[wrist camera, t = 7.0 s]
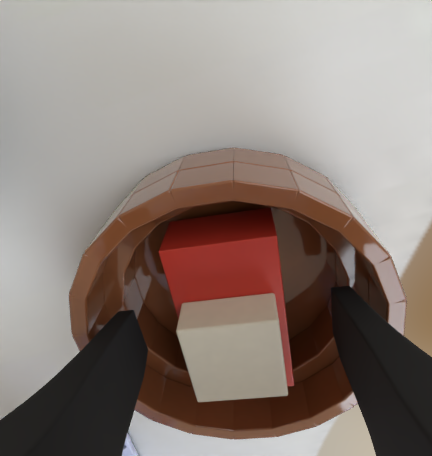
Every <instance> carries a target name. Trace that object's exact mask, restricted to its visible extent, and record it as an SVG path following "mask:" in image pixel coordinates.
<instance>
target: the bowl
mask: <svg viewBox="0 0 432 456" xmlns="http://www.w3.org/2000/svg"><path fill="white" fill-rule="evenodd" d="M263 208H271V210H272V215H273V219H274V224H275V229H276V233H277V239H278V248H279V256H280V265H281V274H282V282H283V291H284V300H285V308H286V317H287V326H288V334H289V343H290V351H291V360H292V369H293V377H294V386H287V387H288V395H287V396H277V397H264V398H250V399H237V400H223V401H210V402H198V401H197V398H196V395H195V392H194V389H193V385H192V382H191V379H190V375H189V372H188V369H187V366H186V362H185V359H184V356H183V352H182V349H181V346H180V343H179V339H178V336H177V333H176V329H177V325H178V316H177V313H176V310H175V306H174V303H173V300H172V296H171V293H170V289H169V286H168V283H167V279H166V276H165V272H164V269H163V266H162V262H161V259H160V256H159V249H160V246H161V244H162V241H163V238H164V236H165V233H166V230H167V228H168V225H169V222H171V221H178V220H185V219H192V218H199V217H206V216H213V215H220V214H227V213H234V212H241V211H248V210H255V209H263ZM341 286H350V287H351V288H353V290H354V291H355V292H356V293H357V294H358V295H359V296H360V297H361V298H362V299H363V300H364V301H365V302H366V303H367V304H368V305H369V306H370V307H371V308H373V309H374V310H375V311H376V312H377V313H378V314H379V315H380V316H381V317H382V318H383V319H385V320H386V321H387V322H388V323H389V324H390V325H391V326H392V327H394V328H395V329H396V330H397V331H398V332H400V333H401V334H402V335H403V336H404V329H405V317H406V304H407V300H406V295H405V292H404V289H403V287H402V284H401V281H400V279H399V276H398V273H397V270H396V268H395V265H394V262H393V260H392V257H391V256H390V254H389V252H388V251H387V250H386V248H385V247H384V246H383V244H382V243H381V242H380V240H379V239H378V238H377V236H376V235H375V234H374V232H373V231H372V229H371V228H370V227H369V225H368V224H367V223H366V221H365V220H364V219H363V217H362V216H361V215H360V213H359V212H358V211H357V209H356V208H355V207H354V206H353V204H352V203H351V202H350V201H349V200H348V199H347V198H346V197H345V196H344V195H343V194H342V193H341V192H340V191H339V190H338V189H337V187H336V186H335V185H334V184H333V183H332V182H331V181H330V180H329V179H328V178H327V177H325V176H324V175H322V174H320V173H318V172H316V171H314V170H312V169H310V168H308V167H306V166H304V165H302V164H300V163H298V162H296V161H294V160H292V159H291V158H289V157H287V156H283V155H281V154H275V153H268V152H261V151H254V150H248V149H241V148H228V149H222V150H216V151H210V152H204V153H198V154H192V155H187V156H184V157H182V158H180V159H178V160H176V161H174V162H172V163H170V164H168V165H167V166H165V167H163V168H161V169H159V170H157V171H155V172H153V173H151V174H150V175H148V176H146V177H145V178H144V179H142V181H141V182H140V183H139V184H138V185H137V186H136V187H135V188H134V189H133V190H132V192H131V193H130V194H129V195H128V196H127V197H126V198H125V199H124V200H123V202H122V203H121V204H120V205H119V206H118V207H117V208H116V210H115V211H114V212H113V214H112V215H111V216H110V218H109V219H108V221H107V222H106V223H105V225H104V226H103V227H102V229H101V230H100V231H99V233H98V234H97V235H96V237H95V238H94V239H93V241H92V242H91V243H90V245H89V246H88V247H87V249H86V250H85V252H84V253H83V255H82V258H81V261H80V263H79V266H78V269H77V272H76V275H75V278H74V280H73V283H72V286H71V289H70V292H69V304H70V318H71V331H72V334H73V338H74V340H75V342H76V344H77V346H78V349H79V351H81V350H82V349H83V348H84V347H85V346H86V345H87V344H88V343H89V342H90V341H91V340H92V339H93V338H94V337H95V335H96V334H97V333H98V332H99V331H100V330H101V329H102V328H103V327H104V326H105V325H106V324H107V323H108V321H109V320H110V319H111V318H112V317H113V316H114V315H115V314H116V313H117V312H118V311H127V310H134V312H135V315H136V318H137V320H138V323H139V326H140V329H141V331H142V334H143V337H144V340H145V342H146V345H147V348H148V354H147V361H146V368H145V373H144V378H143V382H142V385H141V389H140V392H139V395H138V399H137V402H136V406H135V409H134V410H136V411H137V412H139V413H140V414H142V415H144V416H145V417H147V418H149V419H151V420H153V421H155V422H158V423H161V424H164V425H167V426H170V427H172V428H175V429H178V430H181V431H184V432H187V433H192V434H195V435H203V436H210V437H218V438H225V439H251V438H268V437H275V436H276V437H279V436H283V435H286V434H290V433H294V432H298V431H301V430H305V429H309V428H313V427H316V426H319V425H320V424H322V423H324V422H326V421H328V420H330V419H332V418H334V417H336V416H338V415H339V414H341V413H343V412H345V411H347V410H349V409H351V408H352V407H354V406H355V405H356V404H357V403H358V402H357V400H356V397H355V395H354V392H353V390H352V388H351V385H350V383H349V380H348V378H347V375H346V373H345V370H344V368H343V365H342V363H341V360H340V357H339V353H338V350H337V346H336V343H335V339H334V335H333V328H332V304H331V288H332V287H341Z"/></svg>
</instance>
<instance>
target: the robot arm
mask: <svg viewBox="0 0 432 456" xmlns="http://www.w3.org/2000/svg"><path fill="white" fill-rule="evenodd" d="M331 304H332V328H333V335H334V339H335V343H336V346H337V350H338V353H339V357H340V360H341V363H342V365H343V368H344V370H345V373H346V375H347V378H348V380H349V383H350V385H351V388H352V390H353V392H354V395H355V397H356V400H357V402H358V405H359V407H360V410H361V412H362V415H363V417H364V420H365V422H366V425H367V428H368V431H369V433H370V436H371V439H372V443H373V446H374V449H375V452H376V456H432V357H430V356H429V355H428V354H427V353H425V352H424V351H422V350H421V349H420V348H418V347H417V346H416V345H414V344H413V343H412V342H411V341H409V340H408V339H407V338H406V337H404V336H403V335H402V334H401V333H400V332H398V331H397V330H396V329H395V328H394V327H392V326H391V325H390V324H389V323H388V322H387V321H386V320H385V319H383V318H382V317H381V316H380V315H379V314H378V313H377V312H376V311H375V310H374V309H373V308H371V307H370V306H369V305H368V304H367V303H366V302H365V301H364V300H363V299H362V298H361V297H360V296H359V295H358V294H357V293H356V292H355V291H354V290H353V288H351V287H350V286H341V287H332V288H331ZM147 354H148V348H147V345H146V342H145V340H144V337H143V334H142V331H141V329H140V326H139V323H138V320H137V318H136V315H135V312H134V310H127V311H118V312H117V313H116V314H115V315H114V316H113V317H112V318H111V319H110V320H109V321H108V323H107V324H106V325H105V326H104V327H103V328H102V329H101V330H100V331H99V332H98V333H97V334H96V335H95V337H94V338H93V339H92V340H91V341H90V342H89V343H88V344H87V345H86V346H85V347H84V348H83V349H82V350H81V351H80V352H79V353H78V354H77V355H76V356H75V357H74V358H73V359H72V360H71V361H70V362H69V363H68V364H67V365H66V366H65V367H64V368H63V369H62V370H61V371H60V372H59V373H58V374H57V375H56V376H55V377H54V378H52V379H51V380H50V381H49V382H48V383H47V384H46V385H45V386H43V387H42V388H41V389H40V390H39V391H37V392H36V393H35V394H34V395H33V396H31V397H30V398H29V399H28V400H26V401H25V402H24V403H23V404H21V405H20V406H19V407H17V408H16V409H15V410H13V411H12V412H11V413H9V414H8V415H7V416H5V417H4V418H3V419H1V420H0V456H138V453H137V451H136V449H135V447H134V445H133V443H132V441H131V438H130V436H129V434H128V433H127V432H128V429H129V426H130V422H131V419H132V416H133V412H134V409H135V406H136V402H137V399H138V395H139V392H140V389H141V385H142V382H143V378H144V373H145V368H146V361H147Z"/></svg>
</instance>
